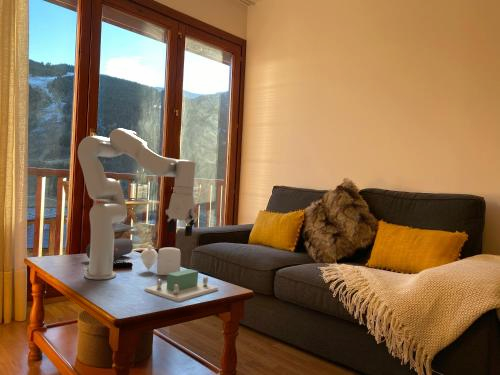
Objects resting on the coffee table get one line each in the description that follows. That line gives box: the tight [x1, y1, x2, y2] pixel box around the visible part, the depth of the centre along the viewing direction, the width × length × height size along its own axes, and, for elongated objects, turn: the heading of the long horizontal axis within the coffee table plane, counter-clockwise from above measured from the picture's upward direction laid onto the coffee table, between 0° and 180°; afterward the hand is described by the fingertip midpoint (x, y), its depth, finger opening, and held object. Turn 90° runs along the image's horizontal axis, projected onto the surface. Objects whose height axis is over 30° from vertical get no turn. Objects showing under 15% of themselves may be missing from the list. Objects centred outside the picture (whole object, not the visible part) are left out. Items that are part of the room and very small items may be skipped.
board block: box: [166, 268, 199, 291], centre depth 158 cm, size 5×12×6 cm, turn 145°
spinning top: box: [140, 244, 158, 272], centre depth 185 cm, size 8×8×12 cm
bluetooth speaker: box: [85, 238, 134, 260], centre depth 205 cm, size 23×9×10 cm, turn 149°
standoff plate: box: [145, 276, 219, 303], centre depth 158 cm, size 18×22×5 cm
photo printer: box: [156, 246, 182, 276], centre depth 181 cm, size 10×4×12 cm, turn 100°
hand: (179, 233), depth 160 cm, fingers open, 9 cm apart
